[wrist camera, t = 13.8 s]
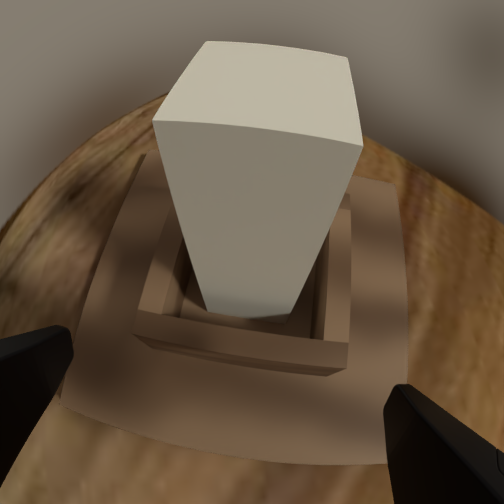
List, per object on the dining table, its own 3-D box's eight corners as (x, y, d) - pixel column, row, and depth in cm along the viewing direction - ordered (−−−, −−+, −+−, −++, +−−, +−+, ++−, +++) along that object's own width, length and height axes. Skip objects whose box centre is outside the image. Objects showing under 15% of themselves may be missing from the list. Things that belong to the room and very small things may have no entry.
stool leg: (285, 324, 17) (363, 146, 6) (207, 311, 17) (151, 120, 6) (293, 255, 19) (347, 57, 8) (222, 245, 19) (206, 41, 8)
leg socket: (391, 460, 14) (429, 469, 10) (67, 405, 15) (25, 399, 11) (390, 191, 23) (411, 154, 19) (151, 158, 24) (139, 116, 20)
